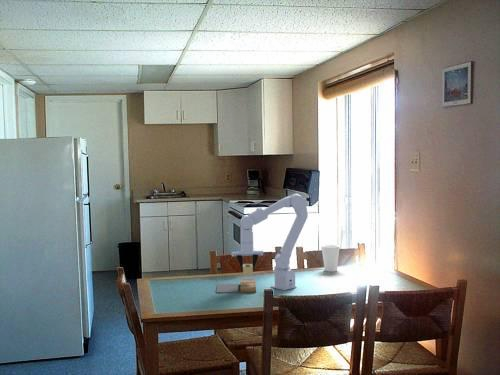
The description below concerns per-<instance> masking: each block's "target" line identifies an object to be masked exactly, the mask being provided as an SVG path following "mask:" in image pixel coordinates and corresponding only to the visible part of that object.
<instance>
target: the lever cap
mask: <svg viewBox="0 0 500 375" xmlns="http://www.w3.org/2000/svg"><path fill="white" fill-rule="evenodd" d="M242 265H243V272H242V275H243V276H246V275H249V276H250V275H254V272H253V263H242Z"/></svg>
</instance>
